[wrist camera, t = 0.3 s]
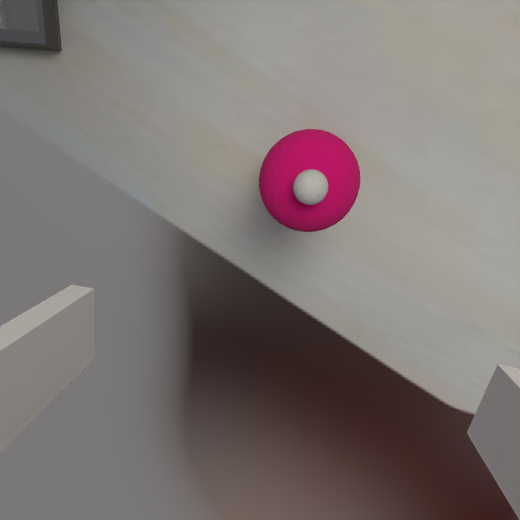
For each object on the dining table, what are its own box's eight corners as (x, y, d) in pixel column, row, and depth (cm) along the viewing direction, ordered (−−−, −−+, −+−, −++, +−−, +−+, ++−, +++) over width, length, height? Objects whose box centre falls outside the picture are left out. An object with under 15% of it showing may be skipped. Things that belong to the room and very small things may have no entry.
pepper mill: (264, 197, 36) (226, 243, 17) (277, 127, 34) (252, 93, 15) (328, 211, 36) (363, 273, 17) (346, 142, 34) (410, 125, 15)
